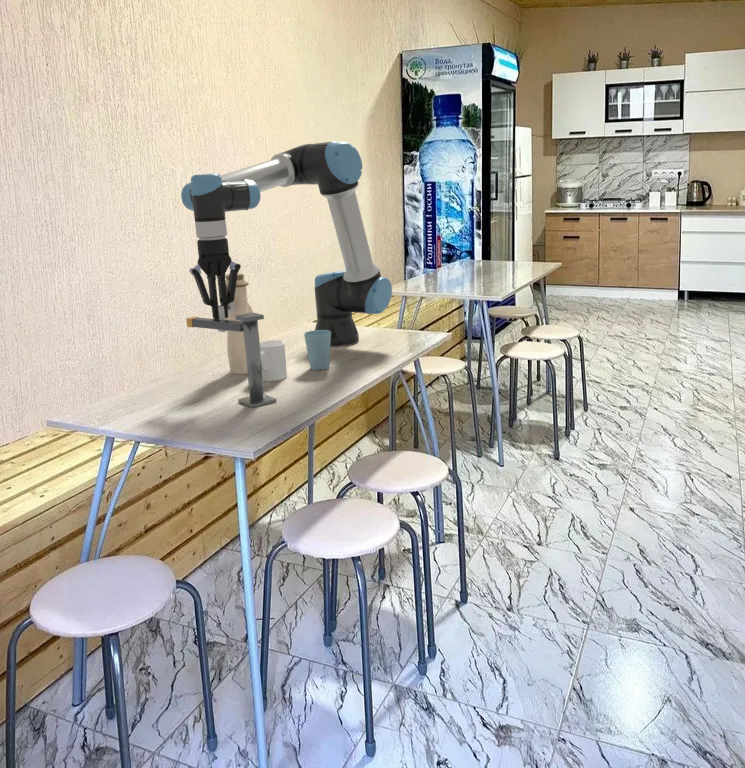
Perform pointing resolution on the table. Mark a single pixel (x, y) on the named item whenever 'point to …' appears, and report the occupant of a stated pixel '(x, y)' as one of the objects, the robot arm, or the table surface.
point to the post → (253, 361)
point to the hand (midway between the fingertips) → (222, 330)
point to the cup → (318, 348)
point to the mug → (273, 360)
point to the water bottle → (235, 337)
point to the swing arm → (215, 324)
